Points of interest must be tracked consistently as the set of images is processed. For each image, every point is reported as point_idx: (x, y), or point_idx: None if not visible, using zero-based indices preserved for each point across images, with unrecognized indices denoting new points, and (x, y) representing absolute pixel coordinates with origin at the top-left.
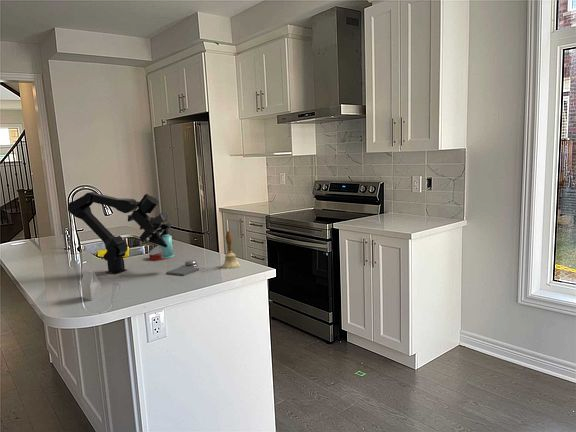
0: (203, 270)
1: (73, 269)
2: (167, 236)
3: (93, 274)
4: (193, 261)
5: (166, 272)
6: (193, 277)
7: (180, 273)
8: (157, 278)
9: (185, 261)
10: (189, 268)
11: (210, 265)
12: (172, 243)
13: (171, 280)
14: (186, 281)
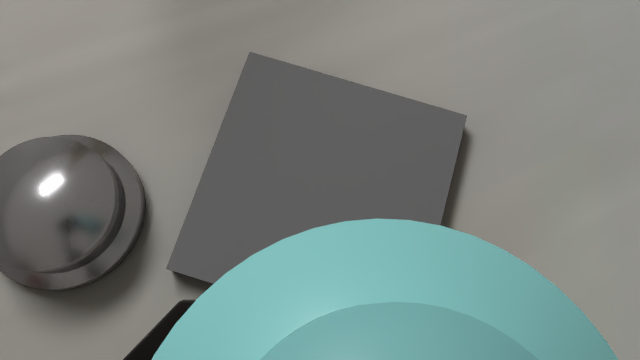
0: (269, 18)
1: None
2: (503, 350)
3: None
4: (45, 165)
5: None
6: (500, 21)
7: (453, 155)
8: None
9: (26, 270)
10: (257, 143)
11: (80, 17)
12: None
13: (616, 174)
14: (620, 33)
